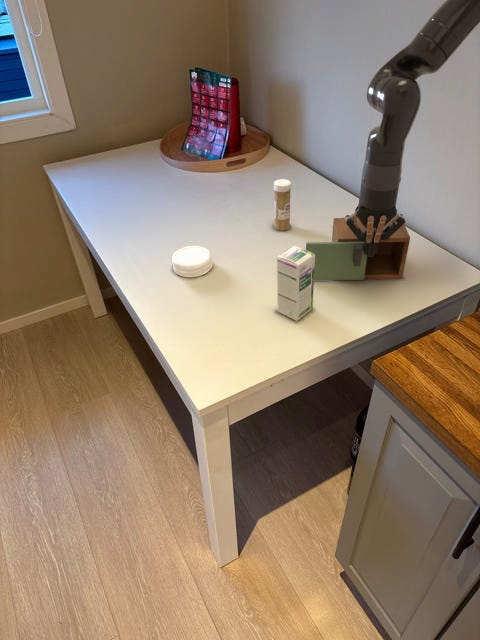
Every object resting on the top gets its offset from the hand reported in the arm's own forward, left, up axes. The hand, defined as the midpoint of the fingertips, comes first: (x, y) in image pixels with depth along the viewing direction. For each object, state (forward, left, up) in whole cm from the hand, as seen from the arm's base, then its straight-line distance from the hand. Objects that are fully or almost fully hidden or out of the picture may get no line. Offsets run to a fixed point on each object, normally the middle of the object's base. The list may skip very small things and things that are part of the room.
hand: (369, 254), depth 109 cm
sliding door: (+7, 0, -8) cm, 10 cm away
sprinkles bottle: (+19, -28, -8) cm, 35 cm away
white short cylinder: (+42, -8, -8) cm, 44 cm away
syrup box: (+17, +10, -8) cm, 21 cm away
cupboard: (-1, -7, -8) cm, 11 cm away
